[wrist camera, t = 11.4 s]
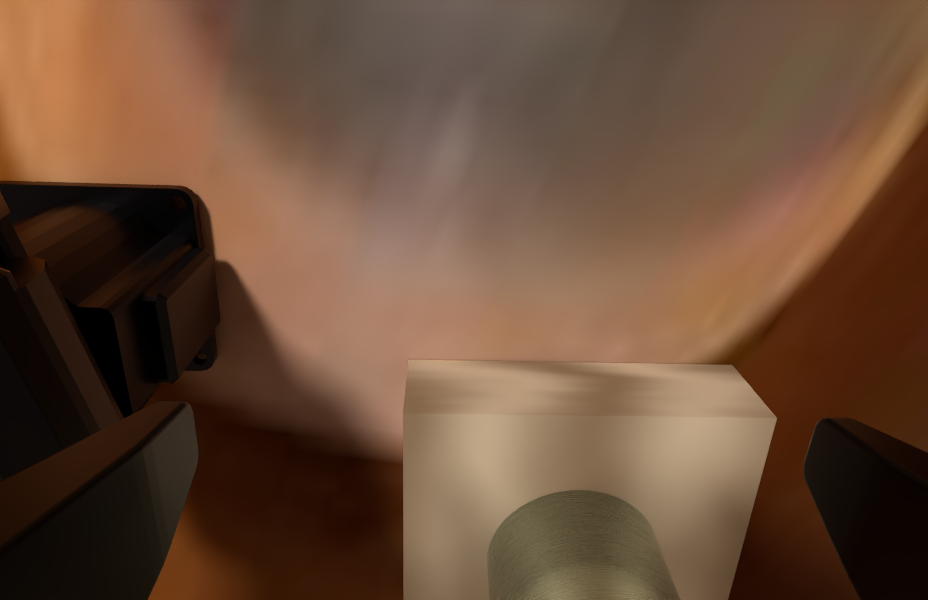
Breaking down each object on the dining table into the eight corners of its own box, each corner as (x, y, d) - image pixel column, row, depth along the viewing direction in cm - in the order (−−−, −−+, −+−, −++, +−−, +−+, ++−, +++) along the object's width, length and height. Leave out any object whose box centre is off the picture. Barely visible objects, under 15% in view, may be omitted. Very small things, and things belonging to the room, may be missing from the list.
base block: (407, 601, 28) (403, 676, 25) (408, 359, 24) (403, 413, 20) (678, 601, 29) (707, 674, 26) (731, 364, 24) (776, 418, 21)
